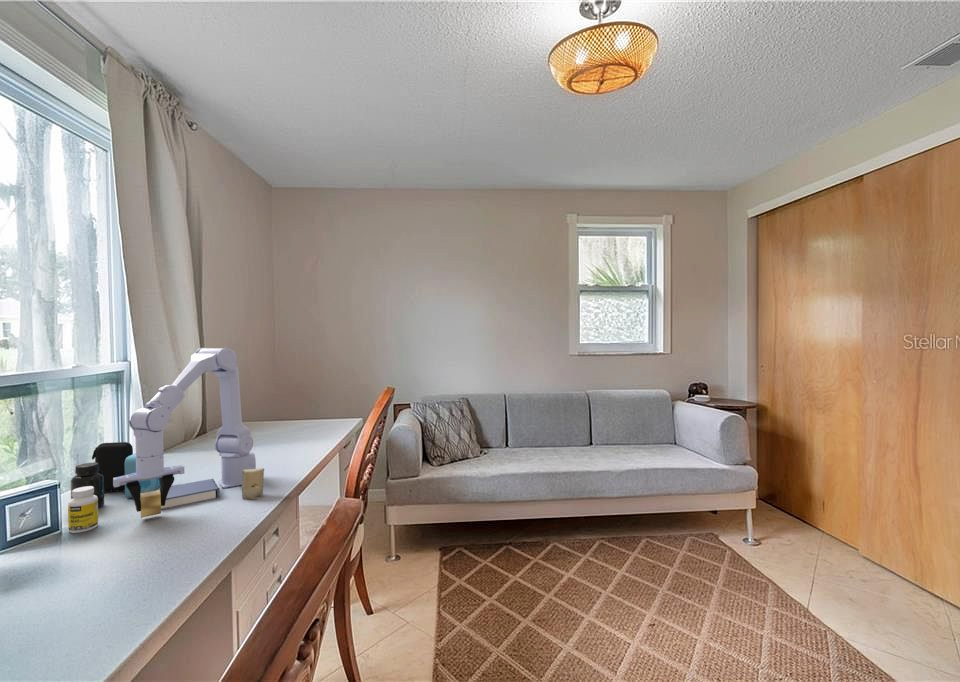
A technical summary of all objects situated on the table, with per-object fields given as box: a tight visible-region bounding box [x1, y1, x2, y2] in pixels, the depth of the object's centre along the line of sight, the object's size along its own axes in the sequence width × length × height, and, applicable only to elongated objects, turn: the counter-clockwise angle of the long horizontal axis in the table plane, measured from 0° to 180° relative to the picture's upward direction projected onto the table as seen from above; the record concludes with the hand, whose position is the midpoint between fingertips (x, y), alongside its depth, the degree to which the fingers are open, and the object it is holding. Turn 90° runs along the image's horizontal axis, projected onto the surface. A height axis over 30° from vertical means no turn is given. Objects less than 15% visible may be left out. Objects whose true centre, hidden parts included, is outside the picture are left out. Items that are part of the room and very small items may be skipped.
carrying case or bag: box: [91, 441, 134, 493], centre depth 133 cm, size 11×3×15 cm, turn 100°
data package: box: [124, 452, 160, 499], centre depth 132 cm, size 12×4×12 cm, turn 12°
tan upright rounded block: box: [241, 467, 265, 500], centre depth 128 cm, size 6×5×8 cm
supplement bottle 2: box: [67, 486, 99, 534], centre depth 107 cm, size 5×5×10 cm
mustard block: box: [140, 489, 162, 518], centre depth 113 cm, size 4×4×5 cm
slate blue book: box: [156, 478, 220, 510], centre depth 127 cm, size 14×11×3 cm
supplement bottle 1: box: [70, 461, 105, 510], centre depth 120 cm, size 7×7×12 cm
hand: (150, 507), depth 113 cm, fingers closed on mustard block, 4 cm apart
